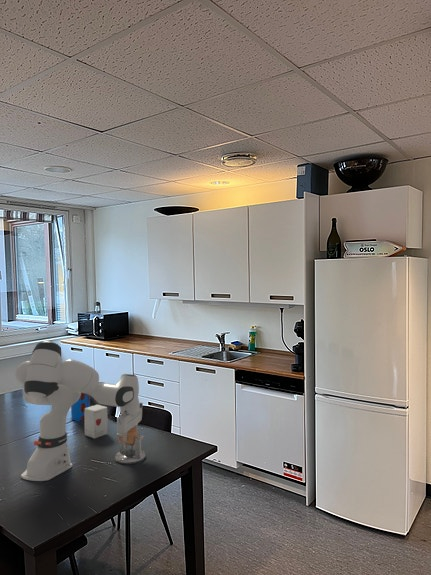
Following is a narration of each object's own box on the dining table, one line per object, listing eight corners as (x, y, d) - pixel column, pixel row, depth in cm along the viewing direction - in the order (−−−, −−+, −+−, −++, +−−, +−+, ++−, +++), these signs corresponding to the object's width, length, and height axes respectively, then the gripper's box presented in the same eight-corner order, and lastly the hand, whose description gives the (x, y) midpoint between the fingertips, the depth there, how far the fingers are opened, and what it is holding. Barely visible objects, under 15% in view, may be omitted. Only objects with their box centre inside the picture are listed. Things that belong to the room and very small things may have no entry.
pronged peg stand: (137, 465, 194) (137, 441, 193) (109, 462, 197) (109, 438, 197) (149, 453, 207) (149, 430, 207) (123, 450, 211) (122, 428, 210)
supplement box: (94, 439, 226) (94, 411, 226) (84, 435, 232) (83, 408, 231) (108, 434, 233) (107, 406, 233) (97, 430, 239) (97, 404, 239)
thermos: (70, 416, 263) (70, 376, 262) (88, 414, 267) (88, 374, 267) (72, 422, 253) (72, 380, 252) (91, 419, 258) (90, 378, 257)
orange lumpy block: (138, 444, 198) (138, 432, 198) (116, 442, 200) (116, 430, 200) (143, 439, 203) (143, 428, 203) (121, 438, 206) (121, 426, 206)
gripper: (126, 415, 191) (126, 445, 191) (144, 402, 210) (144, 430, 211) (113, 414, 192) (113, 444, 192) (132, 401, 212) (132, 429, 212)
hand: (129, 436), depth 202 cm, fingers open, 8 cm apart
